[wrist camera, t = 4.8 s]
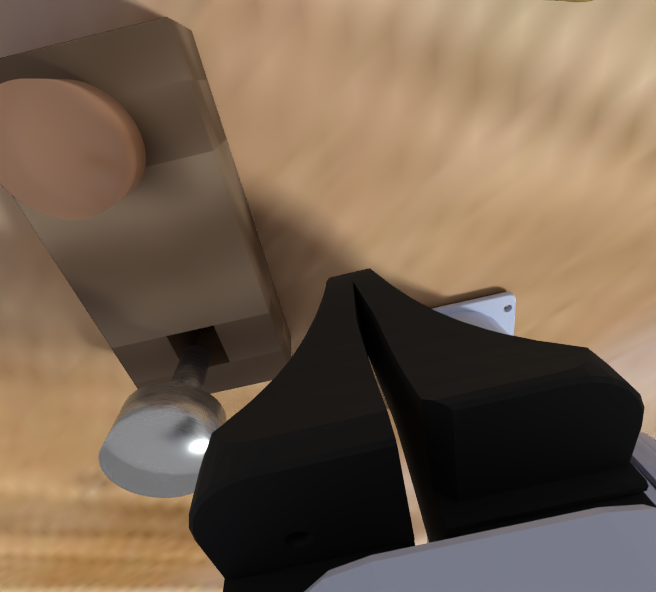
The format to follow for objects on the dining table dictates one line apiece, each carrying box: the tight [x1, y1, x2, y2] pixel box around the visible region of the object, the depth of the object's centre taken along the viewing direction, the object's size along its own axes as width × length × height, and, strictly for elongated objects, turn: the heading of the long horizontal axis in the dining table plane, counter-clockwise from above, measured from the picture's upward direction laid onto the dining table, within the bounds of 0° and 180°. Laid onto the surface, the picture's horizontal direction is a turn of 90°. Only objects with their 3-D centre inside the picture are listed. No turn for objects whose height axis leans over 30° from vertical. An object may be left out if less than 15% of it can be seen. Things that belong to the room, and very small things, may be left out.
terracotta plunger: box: [0, 79, 146, 220], centre depth 14 cm, size 4×4×6 cm
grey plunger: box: [99, 345, 226, 498], centre depth 16 cm, size 4×4×6 cm
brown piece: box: [0, 17, 291, 394], centre depth 18 cm, size 16×8×4 cm, turn 12°
